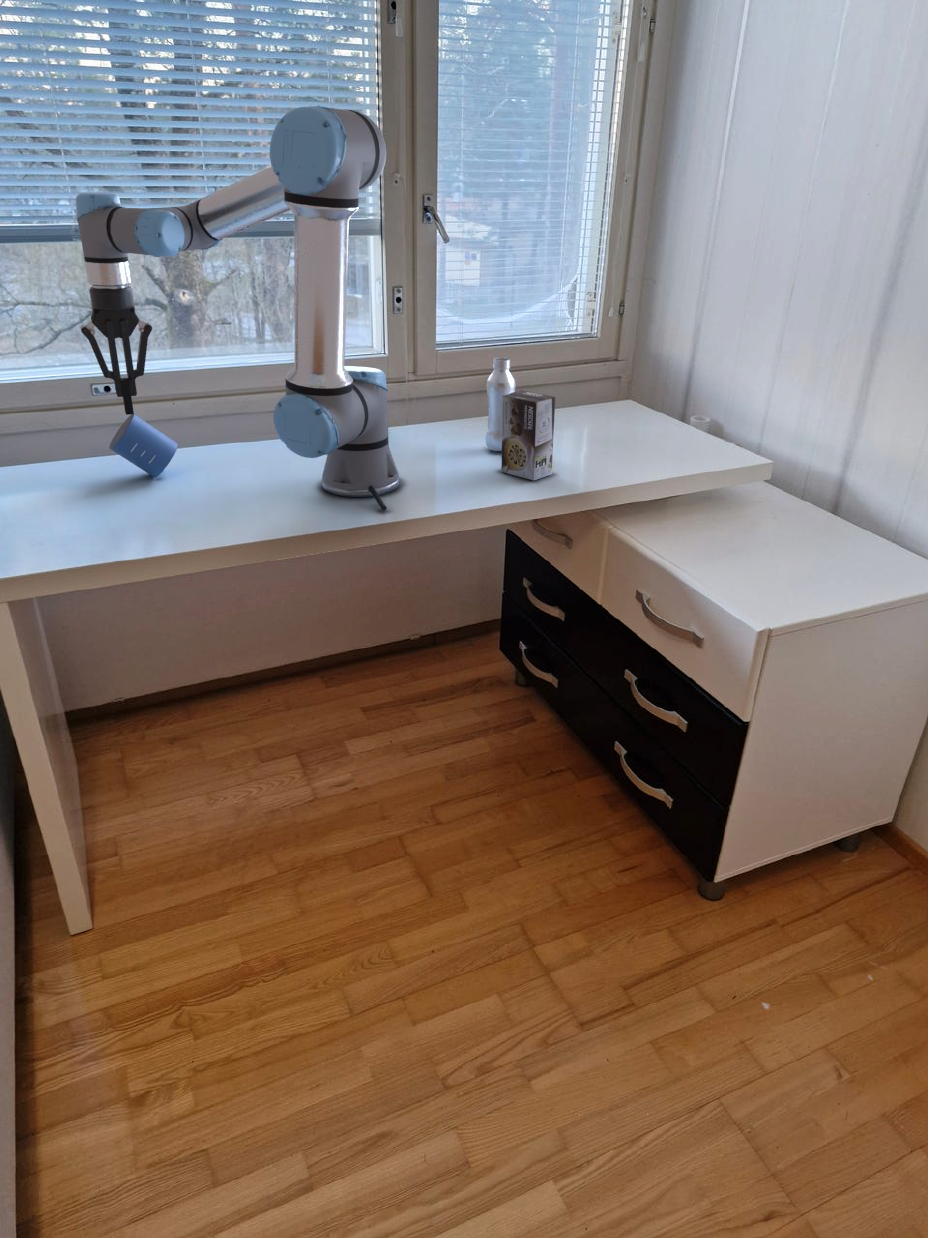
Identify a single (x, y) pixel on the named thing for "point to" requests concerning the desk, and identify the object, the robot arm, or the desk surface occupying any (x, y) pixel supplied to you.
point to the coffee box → (527, 434)
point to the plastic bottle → (497, 400)
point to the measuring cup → (143, 445)
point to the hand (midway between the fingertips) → (129, 412)
